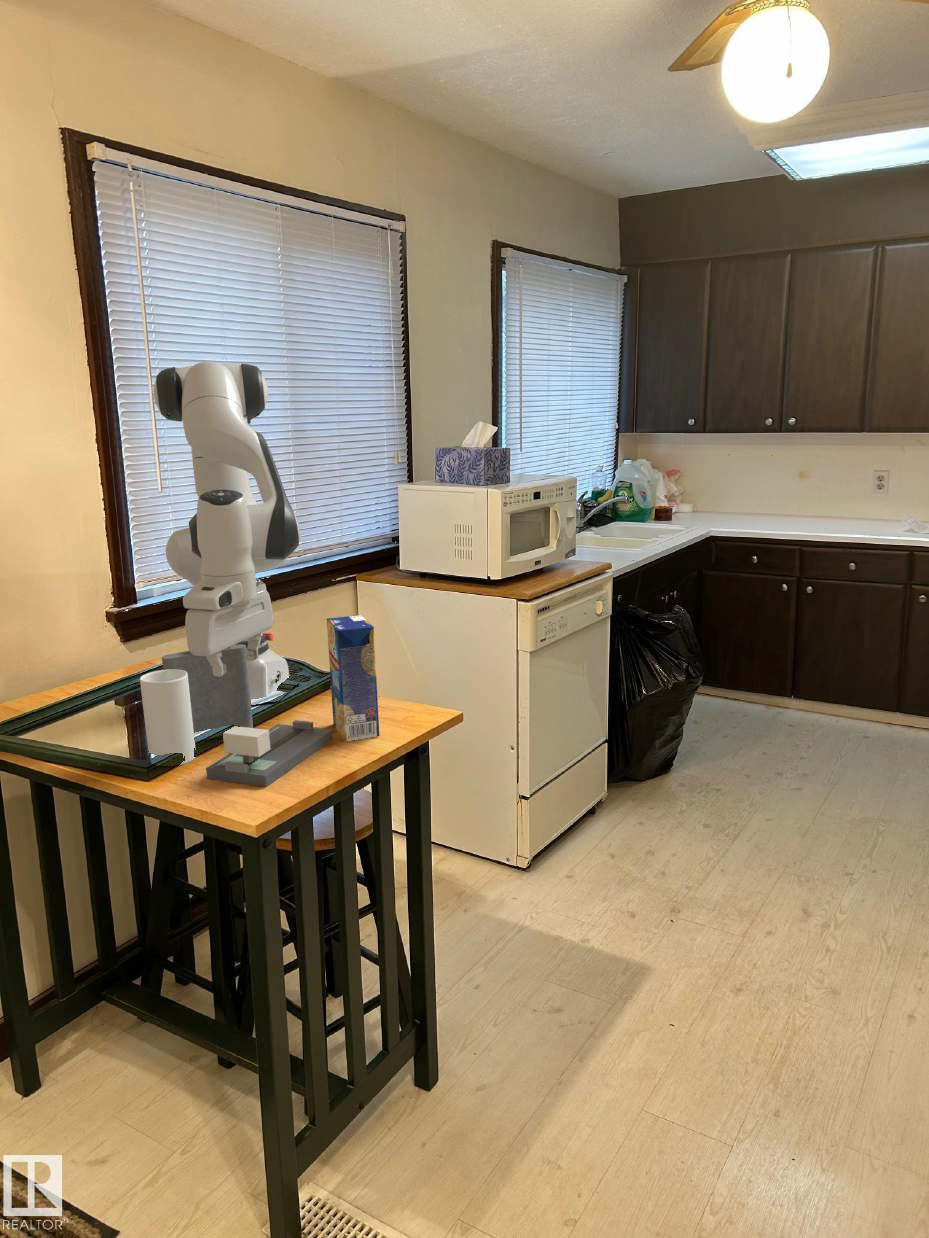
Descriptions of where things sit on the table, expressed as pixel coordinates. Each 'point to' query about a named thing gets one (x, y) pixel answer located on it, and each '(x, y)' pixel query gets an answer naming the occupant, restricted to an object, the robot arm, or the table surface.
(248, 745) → the fader knob
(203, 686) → the hip flask
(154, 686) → the cup
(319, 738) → the fader console
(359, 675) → the beverage box
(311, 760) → the table surface
